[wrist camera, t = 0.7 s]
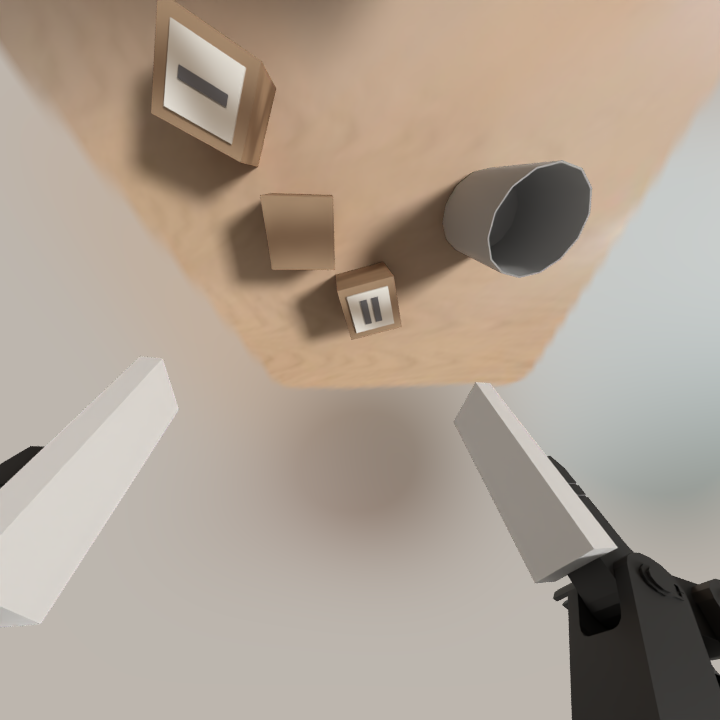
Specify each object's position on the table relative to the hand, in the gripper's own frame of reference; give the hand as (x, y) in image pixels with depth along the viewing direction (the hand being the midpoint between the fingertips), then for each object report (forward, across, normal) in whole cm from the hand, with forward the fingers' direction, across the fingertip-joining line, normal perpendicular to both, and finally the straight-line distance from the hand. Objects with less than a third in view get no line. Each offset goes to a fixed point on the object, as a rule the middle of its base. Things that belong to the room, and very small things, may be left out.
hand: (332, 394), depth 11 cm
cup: (+24, +16, +7) cm, 29 cm away
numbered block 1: (+23, -10, +11) cm, 28 cm away
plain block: (+23, -3, +3) cm, 24 cm away
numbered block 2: (+23, +5, -3) cm, 24 cm away
